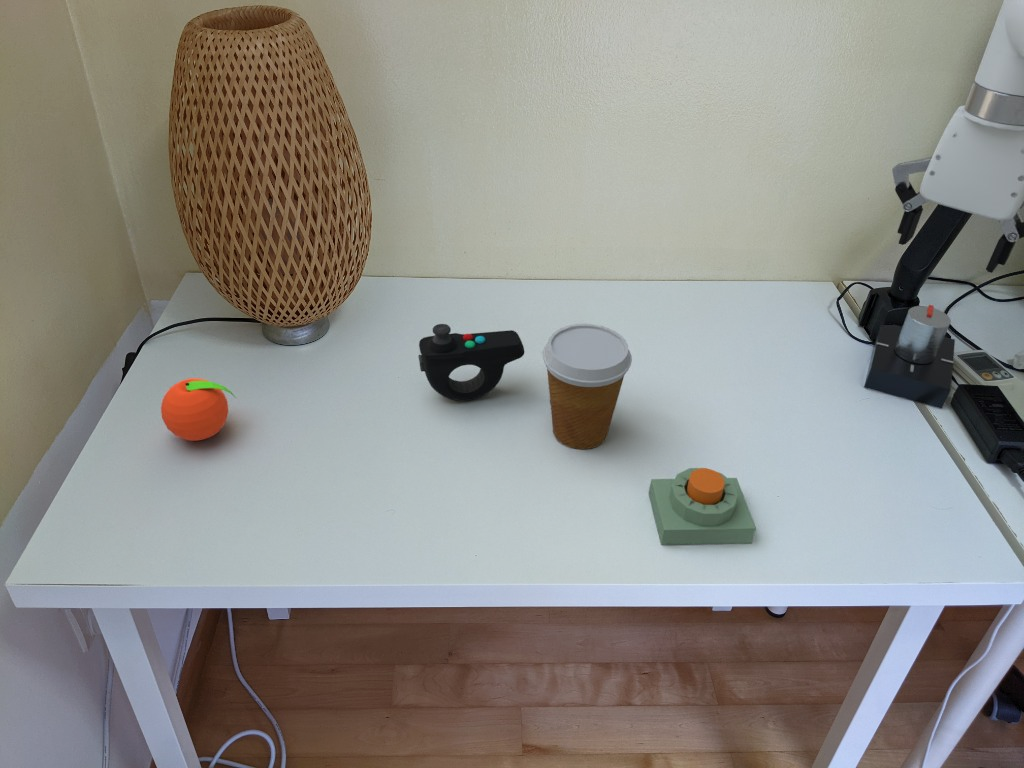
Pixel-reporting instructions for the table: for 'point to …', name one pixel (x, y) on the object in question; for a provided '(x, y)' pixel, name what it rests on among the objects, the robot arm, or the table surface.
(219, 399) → the clementine
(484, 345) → the controller
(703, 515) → the box
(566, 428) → the disposable coffee cup
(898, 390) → the dial panel
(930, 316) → the dial
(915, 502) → the table surface
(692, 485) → the button
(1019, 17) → the robot arm
